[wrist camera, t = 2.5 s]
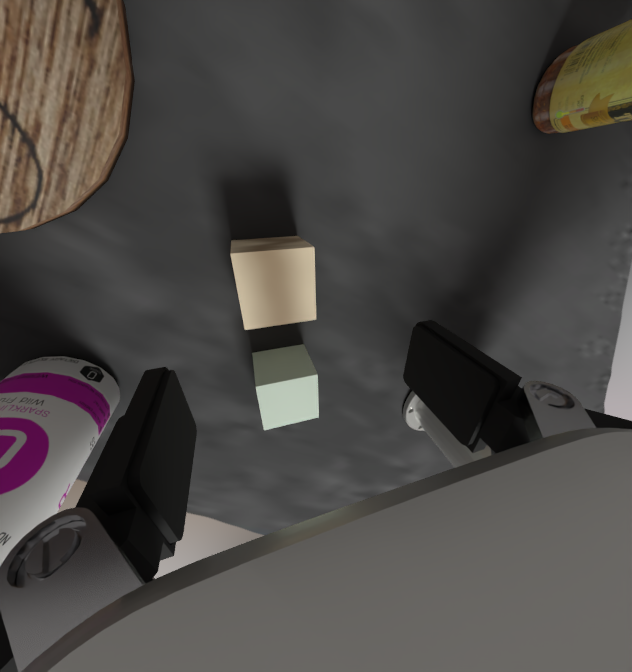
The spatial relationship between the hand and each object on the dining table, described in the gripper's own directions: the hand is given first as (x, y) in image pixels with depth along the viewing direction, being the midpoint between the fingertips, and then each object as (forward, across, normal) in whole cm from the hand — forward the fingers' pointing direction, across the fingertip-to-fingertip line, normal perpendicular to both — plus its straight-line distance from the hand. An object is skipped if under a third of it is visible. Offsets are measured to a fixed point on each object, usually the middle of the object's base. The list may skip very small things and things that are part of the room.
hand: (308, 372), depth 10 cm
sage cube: (+17, -1, +13) cm, 21 cm away
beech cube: (+17, -1, +1) cm, 17 cm away
